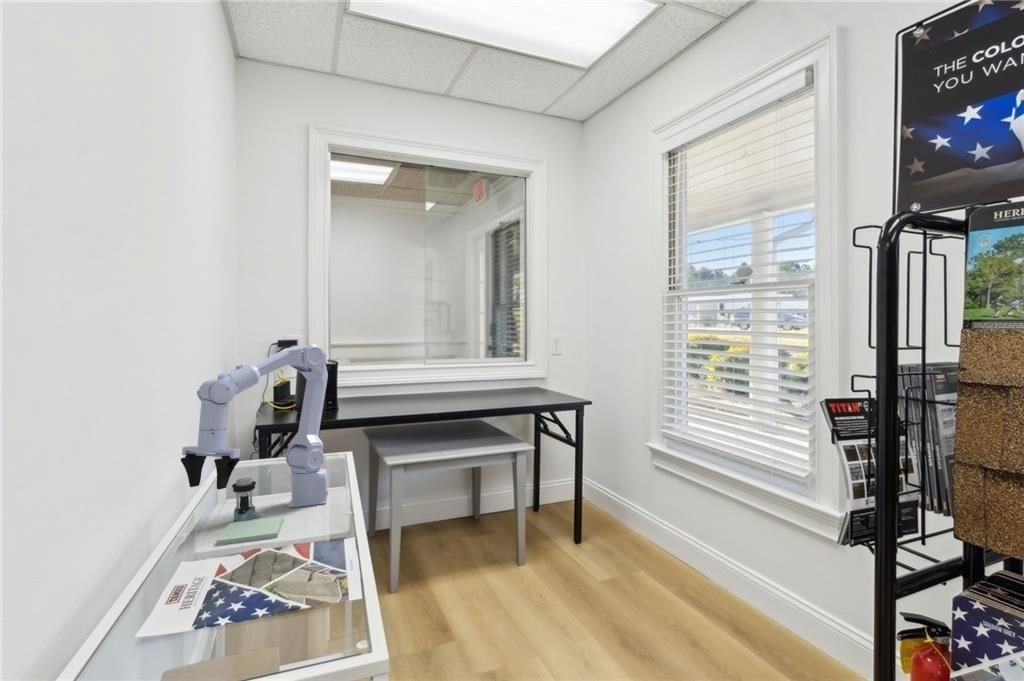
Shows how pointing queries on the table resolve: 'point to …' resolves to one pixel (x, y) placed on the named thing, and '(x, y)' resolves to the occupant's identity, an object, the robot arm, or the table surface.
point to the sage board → (251, 530)
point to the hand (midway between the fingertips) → (207, 487)
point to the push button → (244, 500)
